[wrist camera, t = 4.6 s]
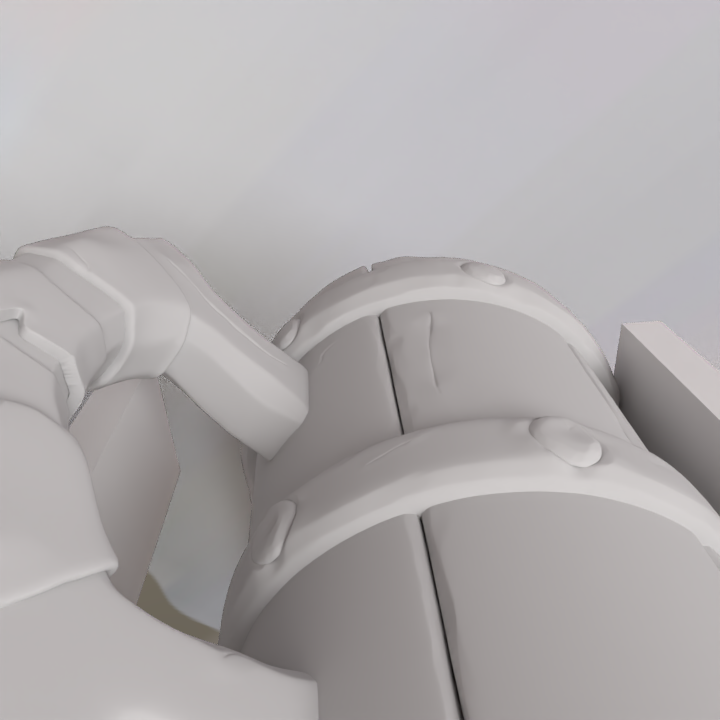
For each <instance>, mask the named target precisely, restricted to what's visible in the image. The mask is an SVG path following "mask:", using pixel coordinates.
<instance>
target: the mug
mask: <svg viewBox="0 0 720 720" xmlns="http://www.w3.org/2000/svg"><path fill="white" fill-rule="evenodd" d="M160 375H163V376H164V377H166V378H167V379H168V380H170V381H171V382H172V383H173V384H175V385H176V386H177V387H178V388H179V389H181V390H182V391H183V392H184V393H185V394H186V395H187V396H188V397H189V398H190V399H191V400H192V401H193V402H194V403H195V404H196V405H197V406H198V407H199V408H201V409H202V410H203V411H204V412H205V413H206V414H207V415H208V416H210V417H211V418H212V419H213V420H214V421H215V422H216V423H218V424H219V425H220V426H221V427H222V428H223V429H224V430H225V431H227V432H228V433H229V434H231V435H232V436H233V437H235V438H236V439H238V440H239V441H241V459H242V465H243V470H244V474H245V477H246V481H247V484H248V487H249V490H250V500H251V503H252V510H251V520H250V531H249V541H248V546H247V547H246V549H245V551H244V553H243V555H242V556H241V558H240V560H239V563H238V565H237V567H236V569H235V572H234V574H233V577H232V580H231V583H230V586H229V589H228V593H227V597H226V600H225V604H224V609H223V615H222V621H221V629H220V635H219V641H218V645H217V644H214V643H211V642H208V641H205V640H202V639H199V638H196V637H193V636H190V635H188V634H185V633H183V632H181V631H178V630H176V629H174V628H172V627H170V626H168V625H167V624H165V623H163V622H161V621H160V620H158V619H156V618H155V617H153V616H151V615H150V614H148V613H147V612H145V611H144V610H142V609H141V608H139V607H138V606H136V605H135V604H134V603H132V602H131V601H129V600H128V599H127V598H125V597H124V596H123V595H122V594H121V593H119V592H118V591H117V590H116V588H115V587H114V586H113V584H112V583H111V581H110V578H111V576H112V574H114V573H115V572H116V570H117V569H118V566H119V561H118V558H117V556H116V554H115V552H114V550H113V548H112V546H111V543H110V541H109V539H108V537H107V534H106V532H105V529H104V527H103V524H102V521H101V517H100V513H99V509H98V505H97V501H96V496H95V492H94V487H93V483H92V479H91V474H90V470H89V467H88V463H87V460H86V457H85V455H84V452H83V450H82V448H81V446H80V444H79V443H78V441H77V440H76V438H75V437H74V436H73V435H72V434H71V433H70V432H69V421H70V419H71V418H72V416H73V415H74V413H75V412H76V410H77V409H78V408H79V406H80V405H81V403H82V401H83V399H84V395H85V392H86V391H94V390H98V389H101V388H103V387H106V386H109V385H112V384H115V383H119V382H122V381H125V380H129V379H153V378H157V377H159V376H160ZM619 402H620V390H619V386H618V383H617V381H616V379H615V378H614V376H613V373H612V371H611V368H610V366H609V363H608V361H607V359H606V357H605V355H604V354H603V352H602V350H601V348H600V347H599V345H598V344H597V342H596V341H595V339H594V338H593V336H592V335H591V334H590V332H589V331H588V330H587V328H586V327H585V326H584V325H583V324H582V323H581V322H580V321H579V320H578V319H577V317H576V316H575V315H574V314H573V313H572V312H571V311H570V310H569V309H568V308H567V307H565V306H564V305H563V304H562V303H560V302H559V301H558V300H557V299H555V298H554V297H553V296H552V295H551V294H550V293H549V292H547V291H546V290H545V289H543V288H542V287H540V286H539V285H537V284H536V283H534V282H532V281H530V280H528V279H526V278H524V277H522V276H519V275H517V274H515V273H512V272H510V271H507V270H504V269H501V268H498V267H495V266H491V265H488V264H484V263H479V262H476V261H472V260H466V259H460V258H447V257H398V258H394V259H390V260H387V261H383V262H379V263H374V264H372V271H370V272H368V270H367V268H366V267H365V266H362V267H360V268H358V269H356V270H353V271H351V272H349V273H347V274H345V275H344V276H342V277H340V278H338V279H337V280H335V281H333V282H332V283H330V284H329V285H327V286H326V287H325V288H323V289H322V290H321V291H320V292H319V293H318V294H317V295H315V296H314V297H313V298H312V299H311V300H310V301H308V302H307V303H306V304H305V305H304V306H303V307H302V308H301V310H300V311H299V312H298V313H297V314H296V315H295V316H294V317H293V318H292V319H291V320H290V321H289V322H287V323H286V324H285V325H284V326H283V327H282V329H281V330H280V331H279V332H278V333H277V335H276V337H275V338H274V340H273V341H272V343H271V342H270V341H268V340H267V339H266V338H265V337H263V336H262V335H261V334H260V333H258V332H257V331H256V330H255V329H254V328H252V327H251V326H250V325H249V324H248V323H247V322H246V321H245V320H243V319H242V318H241V317H240V316H239V315H238V314H237V313H236V312H235V311H234V310H233V309H232V308H230V307H229V306H228V305H227V304H226V303H225V302H224V301H223V300H222V299H221V298H220V297H219V296H218V294H217V293H216V292H215V291H214V290H213V289H212V288H211V286H210V285H209V284H208V283H207V281H206V280H205V279H204V277H203V276H202V275H201V273H200V272H199V270H198V269H197V268H196V266H195V265H194V264H193V263H192V262H191V261H190V260H189V259H188V258H187V257H186V256H184V255H183V254H182V253H181V252H180V251H179V250H178V249H177V248H176V247H175V246H173V245H172V244H170V243H169V242H167V241H166V240H164V239H162V238H156V239H150V238H132V237H130V236H128V235H127V234H126V233H124V232H122V231H120V230H119V229H117V228H113V227H109V226H106V227H99V228H94V229H90V230H86V231H83V232H79V233H75V234H71V235H66V236H61V237H56V238H51V239H47V240H42V241H38V242H35V243H31V244H27V245H24V246H21V247H19V248H18V250H17V251H16V253H15V255H14V257H13V259H12V260H0V720H720V516H719V515H718V514H717V512H716V511H715V510H714V509H713V508H712V506H711V505H710V504H709V503H708V501H707V500H706V499H705V498H704V497H703V496H702V495H701V494H700V492H699V491H698V490H697V489H696V488H695V487H694V486H693V485H692V484H691V483H690V482H689V481H688V480H687V479H686V478H685V477H684V476H683V475H682V474H681V473H679V472H678V471H677V470H676V469H675V468H673V467H672V466H671V465H669V464H668V463H667V462H665V461H664V460H662V459H661V458H659V457H658V456H656V455H655V454H653V453H651V452H649V451H648V449H647V448H646V447H645V445H644V444H643V442H642V441H641V439H640V438H639V436H638V435H637V434H636V432H635V431H634V429H633V428H632V426H631V425H630V423H629V422H628V421H627V419H626V418H625V416H624V415H623V413H622V412H621V410H620V409H619Z"/></svg>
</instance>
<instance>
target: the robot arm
mask: <svg viewBox="0 0 720 720" xmlns="http://www.w3.org/2000/svg"><path fill="white" fill-rule="evenodd" d="M614 378H615V379H616V381H617V383H618V386H619V390H620V402H619V409H620V410H621V412H622V413H623V415H624V416H625V418H626V419H627V421H628V422H629V423H630V425H631V426H632V428H633V429H634V431H635V432H636V434H637V435H638V436H639V438H640V439H641V441H642V442H643V444H644V445H645V447H646V448H647V449H648V451H649V452H651V453H653V454H655V455H656V456H658V457H659V458H661V459H662V460H664V461H665V462H667V463H668V464H669V465H671V466H672V467H673V468H675V469H676V470H677V471H678V472H679V473H681V474H682V475H683V476H684V477H685V478H686V479H687V480H688V481H689V482H690V483H691V484H692V485H693V486H694V487H695V488H696V489H697V490H698V491H699V492H700V494H701V495H702V496H703V497H704V498H705V499H706V500H707V501H708V503H709V504H710V505H711V506H712V508H713V509H714V510H715V511H716V512H717V514H718V515H719V516H720V372H719V371H718V370H717V369H716V368H715V367H714V366H712V365H711V364H710V363H709V362H708V361H707V360H706V359H704V358H703V357H702V356H701V355H700V354H699V353H697V352H696V351H695V350H694V349H693V348H692V347H690V346H689V345H688V344H687V343H686V342H685V341H684V340H682V339H681V338H680V337H679V336H678V335H677V334H675V333H674V332H673V331H672V330H671V329H670V328H668V327H667V326H666V325H665V324H664V323H663V322H662V321H650V322H636V323H622V325H621V332H620V338H619V345H618V351H617V357H616V364H615V370H614ZM69 432H70V433H71V434H72V435H73V436H74V437H75V438H76V440H77V441H78V443H79V444H80V446H81V448H82V450H83V452H84V455H85V457H86V460H87V463H88V467H89V470H90V474H91V479H92V483H93V487H94V492H95V496H96V501H97V505H98V509H99V513H100V517H101V521H102V524H103V527H104V529H105V532H106V534H107V537H108V539H109V541H110V543H111V546H112V548H113V550H114V552H115V554H116V556H117V558H118V561H119V566H118V569H117V570H116V572H115V573H114V574H112V576H111V578H110V581H111V583H112V584H113V586H114V587H115V588H116V590H117V591H118V592H119V593H121V594H122V595H123V596H124V597H125V598H127V599H128V600H129V601H131V602H132V603H134V604H135V605H136V604H137V601H138V598H139V595H140V592H141V589H142V586H143V583H144V580H145V577H146V574H147V571H148V568H149V565H150V562H151V559H152V556H153V553H154V550H155V547H156V544H157V541H158V538H159V535H160V532H161V529H162V526H163V523H164V520H165V517H166V514H167V511H168V508H169V505H170V502H171V499H172V496H173V493H174V490H175V486H176V483H177V480H178V477H179V474H180V467H179V463H178V459H177V455H176V451H175V447H174V442H173V438H172V434H171V430H170V426H169V422H168V417H167V413H166V409H165V405H164V401H163V397H162V393H161V388H160V384H159V380H158V377H157V378H153V379H129V380H125V381H122V382H119V383H115V384H112V385H109V386H106V387H103V388H101V389H98V390H94V391H93V392H92V394H91V395H90V397H89V398H88V400H87V401H86V403H85V404H84V406H83V408H82V409H81V411H80V412H79V414H78V415H77V417H76V418H75V420H74V421H73V423H72V425H71V426H70V428H69Z"/></svg>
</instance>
